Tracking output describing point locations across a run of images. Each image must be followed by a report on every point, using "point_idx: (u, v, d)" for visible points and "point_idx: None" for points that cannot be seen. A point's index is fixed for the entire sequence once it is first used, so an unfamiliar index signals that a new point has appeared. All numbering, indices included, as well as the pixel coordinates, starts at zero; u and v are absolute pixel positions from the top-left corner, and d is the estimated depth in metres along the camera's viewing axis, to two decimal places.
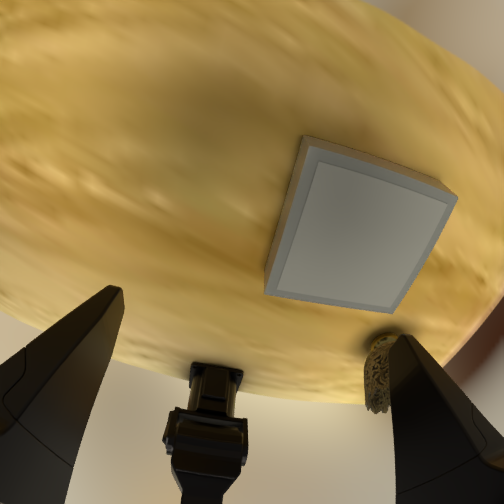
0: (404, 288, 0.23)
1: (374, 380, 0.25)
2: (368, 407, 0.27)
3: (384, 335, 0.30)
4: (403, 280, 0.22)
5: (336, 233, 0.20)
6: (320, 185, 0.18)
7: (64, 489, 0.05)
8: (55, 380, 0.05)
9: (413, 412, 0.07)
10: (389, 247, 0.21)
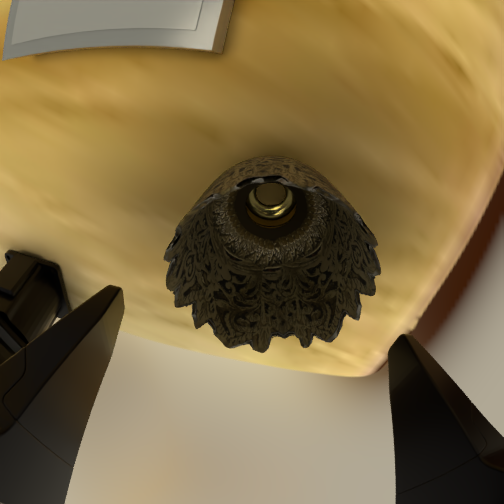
0: None
1: None
2: (198, 320, 0.12)
3: None
4: None
5: None
6: None
7: (64, 489, 0.05)
8: (55, 380, 0.05)
9: (413, 412, 0.07)
10: None
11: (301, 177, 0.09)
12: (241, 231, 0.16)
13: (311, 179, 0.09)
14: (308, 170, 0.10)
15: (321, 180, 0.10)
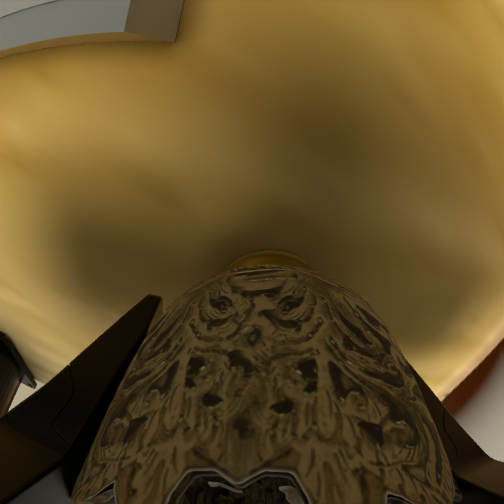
0: None
1: None
2: None
3: (248, 256, 0.09)
4: None
5: None
6: None
7: None
8: (107, 399, 0.05)
9: None
10: None
11: (351, 458, 0.02)
12: None
13: (374, 443, 0.03)
14: (360, 361, 0.04)
15: (391, 406, 0.03)
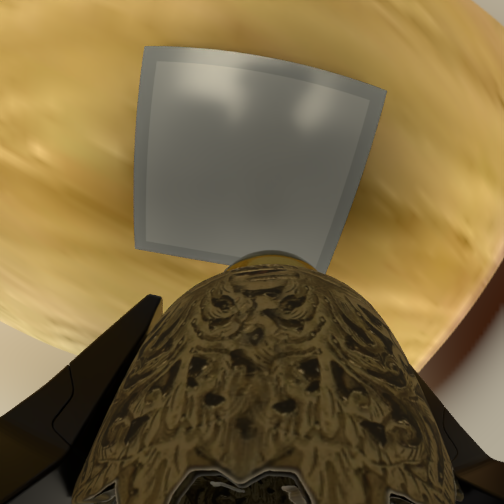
0: (330, 239, 0.17)
1: None
2: None
3: (249, 255, 0.09)
4: (325, 225, 0.16)
5: (199, 154, 0.14)
6: (163, 90, 0.12)
7: None
8: (107, 399, 0.05)
9: None
10: (286, 171, 0.15)
11: (353, 457, 0.02)
12: None
13: (377, 443, 0.03)
14: (362, 361, 0.04)
15: (394, 406, 0.03)
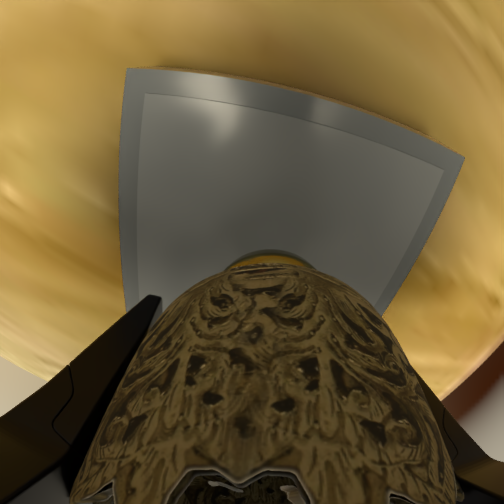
0: None
1: None
2: None
3: (249, 254, 0.09)
4: None
5: (209, 232, 0.11)
6: (156, 139, 0.09)
7: None
8: (107, 399, 0.05)
9: None
10: (326, 256, 0.11)
11: (353, 457, 0.02)
12: None
13: (376, 442, 0.03)
14: (362, 359, 0.04)
15: (393, 405, 0.03)
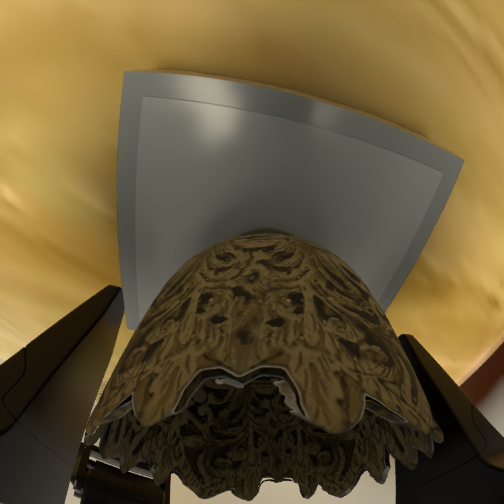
0: None
1: None
2: (159, 474, 0.06)
3: (247, 232, 0.10)
4: None
5: (208, 235, 0.11)
6: (154, 142, 0.09)
7: (64, 489, 0.05)
8: (55, 380, 0.05)
9: None
10: None
11: (332, 362, 0.04)
12: None
13: (352, 356, 0.04)
14: (340, 299, 0.05)
15: (367, 334, 0.04)
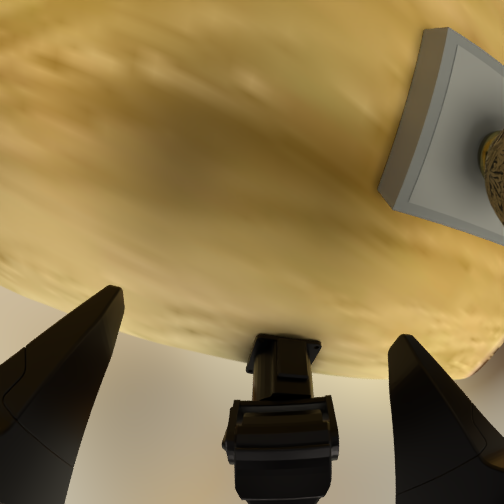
0: None
1: None
2: None
3: None
4: None
5: (473, 131, 0.13)
6: (460, 70, 0.11)
7: (64, 489, 0.05)
8: (55, 380, 0.05)
9: (413, 412, 0.07)
10: None
11: None
12: None
13: None
14: None
15: None
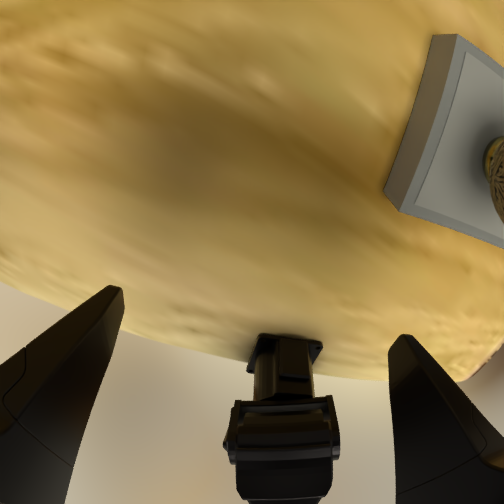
0: None
1: None
2: None
3: (500, 136, 0.12)
4: None
5: (478, 136, 0.13)
6: (468, 76, 0.11)
7: (64, 489, 0.05)
8: (55, 380, 0.05)
9: (413, 412, 0.07)
10: None
11: None
12: None
13: None
14: None
15: None
